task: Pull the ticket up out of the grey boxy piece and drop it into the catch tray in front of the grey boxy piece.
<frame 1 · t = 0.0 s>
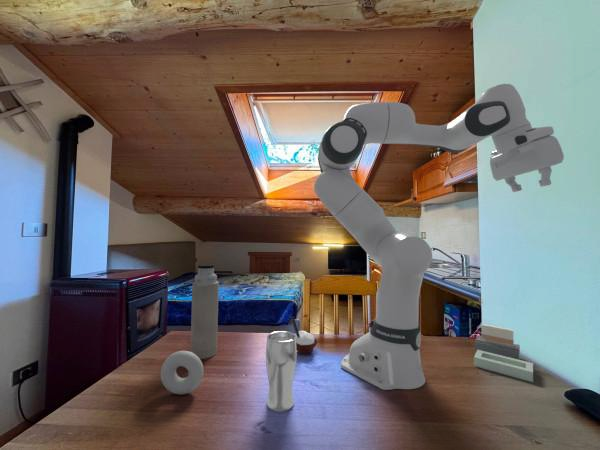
hand: (531, 188, 76), 52 cm above the table, tool tilted 20°, fingers open, 8 cm apart
beer glass: (280, 404, 61), on the table
catch tray: (502, 372, 77), on the table
thermos bottle: (203, 353, 86), on the table
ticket: (497, 356, 85), point 1 cm above the table, touching grey boxy piece
coconut drink with straw: (303, 353, 88), on the table
grey boxy piece: (497, 359, 85), on the table
donut: (181, 394, 65), on the table
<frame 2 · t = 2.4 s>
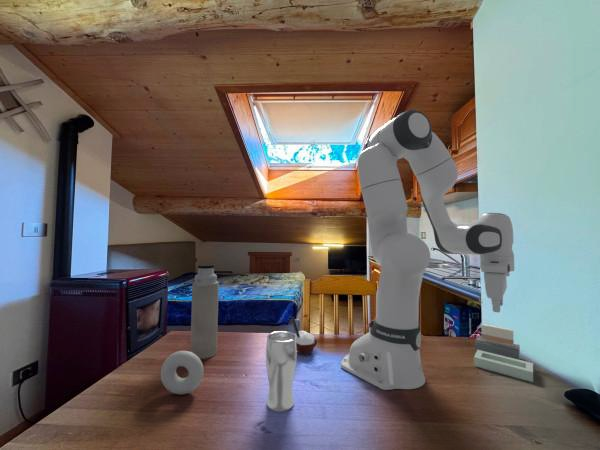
hand: (498, 308, 86), 16 cm above the table, tool pointing down, fingers open, 8 cm apart
nothing on the table moved.
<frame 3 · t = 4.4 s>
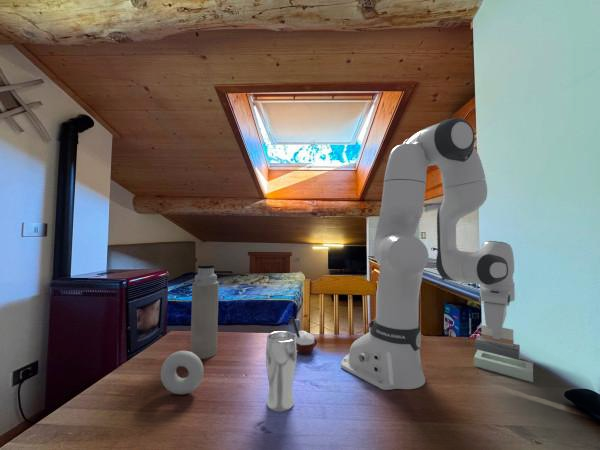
hand: (497, 337, 85), 7 cm above the table, tool pointing down, fingers closed on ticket, 2 cm apart
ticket: (497, 356, 85), point 1 cm above the table, touching gripper, grey boxy piece
everything else where it was.
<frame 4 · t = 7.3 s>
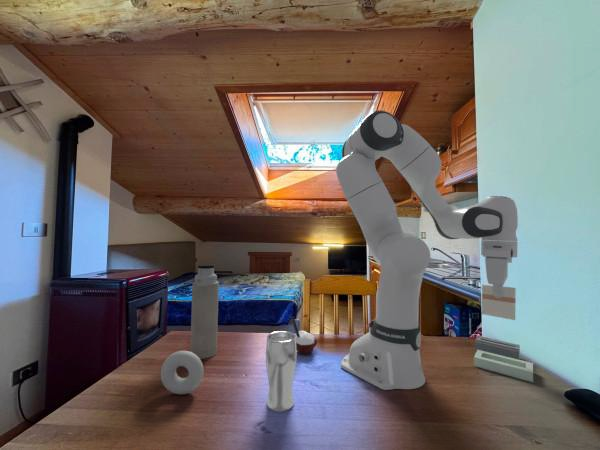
hand: (498, 296, 82), 20 cm above the table, tool pointing down, fingers closed on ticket
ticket: (498, 316, 81), point 15 cm above the table, touching gripper
everything else where it was.
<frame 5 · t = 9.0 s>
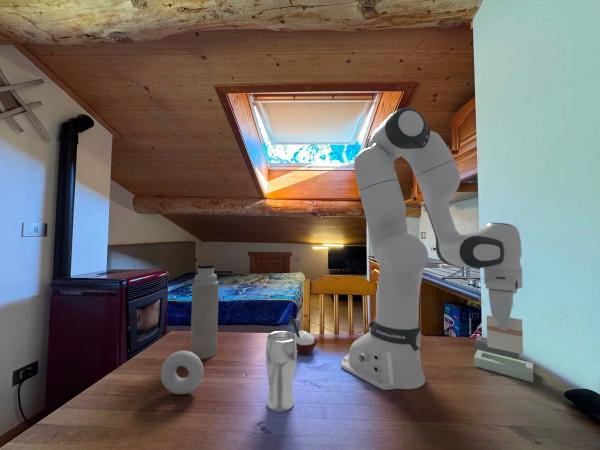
hand: (503, 328, 77), 12 cm above the table, tool pointing down, fingers closed on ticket
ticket: (504, 349, 77), point 6 cm above the table, touching gripper
everything else where it was.
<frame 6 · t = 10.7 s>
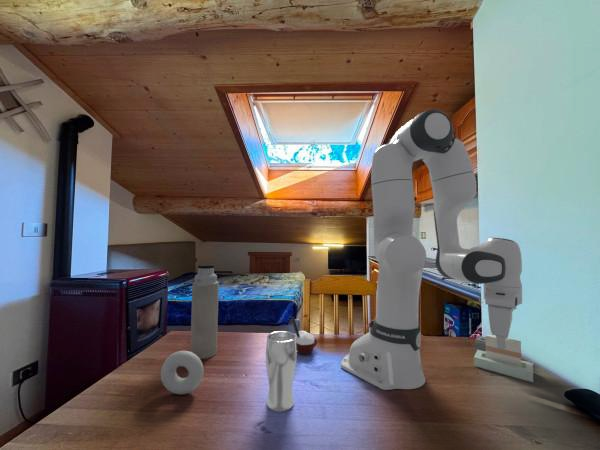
hand: (502, 343, 77), 8 cm above the table, tool pointing down, fingers open, 7 cm apart
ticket: (503, 370, 77), point 1 cm above the table, touching catch tray
everything else where it was.
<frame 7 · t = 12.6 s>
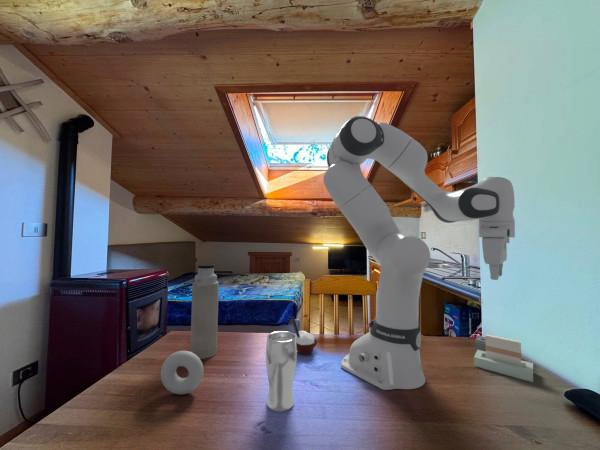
hand: (496, 277, 82), 26 cm above the table, tool pointing down, fingers open, 8 cm apart
nothing on the table moved.
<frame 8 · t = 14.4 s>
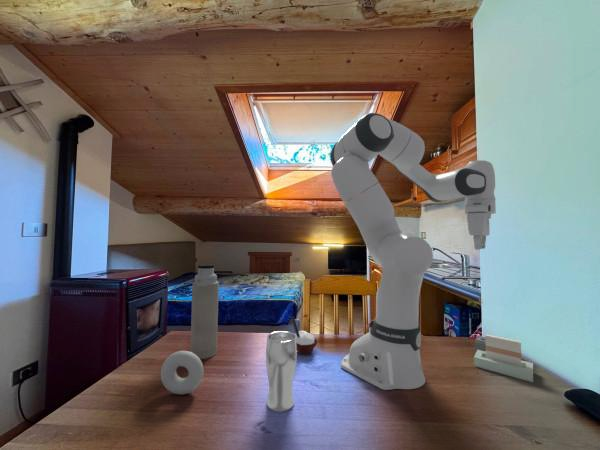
hand: (480, 249, 93), 34 cm above the table, tool pointing down, fingers open, 8 cm apart
nothing on the table moved.
at the end: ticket inside the target area on the catch tray (0.1 cm from its centre), point 0.6 cm above the catch tray's base; the gripper is holding nothing; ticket moved 9.3 cm from its start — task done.
